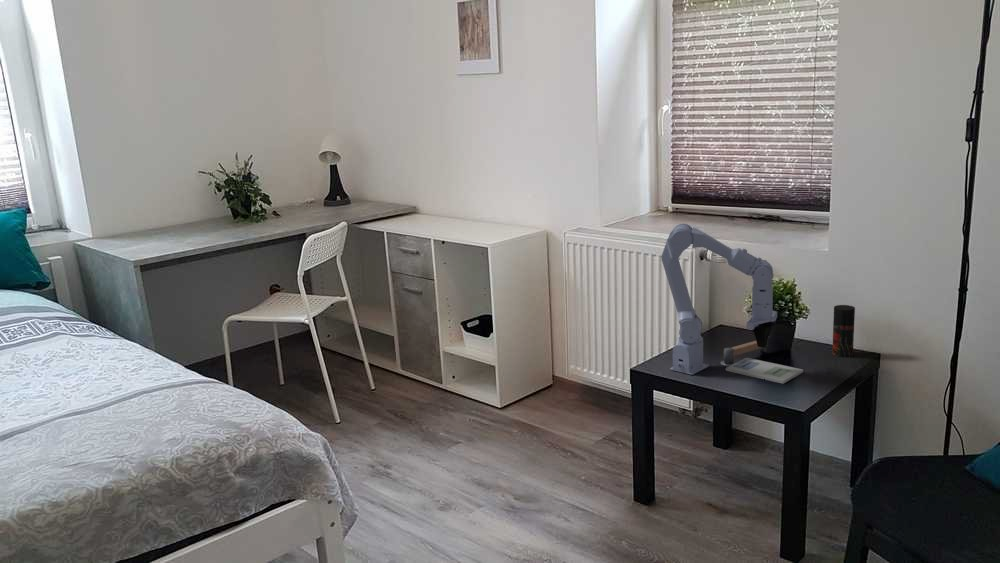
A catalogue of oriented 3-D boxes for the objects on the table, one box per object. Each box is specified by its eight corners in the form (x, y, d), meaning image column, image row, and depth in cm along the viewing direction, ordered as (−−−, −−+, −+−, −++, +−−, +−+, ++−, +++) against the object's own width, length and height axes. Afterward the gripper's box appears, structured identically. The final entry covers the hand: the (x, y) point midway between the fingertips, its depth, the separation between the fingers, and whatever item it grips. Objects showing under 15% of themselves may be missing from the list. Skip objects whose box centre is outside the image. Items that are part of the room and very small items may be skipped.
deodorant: (854, 357, 251) (856, 310, 247) (834, 356, 252) (835, 310, 249) (850, 350, 257) (852, 304, 253) (830, 350, 258) (832, 304, 254)
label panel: (783, 383, 233) (783, 380, 233) (711, 367, 250) (711, 364, 250) (803, 372, 241) (803, 369, 241) (731, 356, 258) (731, 353, 258)
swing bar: (728, 364, 250) (728, 351, 249) (721, 361, 252) (721, 349, 252) (779, 349, 260) (779, 337, 259) (771, 347, 263) (772, 335, 262)
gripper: (762, 310, 232) (762, 355, 235) (787, 298, 241) (786, 342, 245) (740, 306, 237) (740, 351, 240) (764, 295, 246) (764, 338, 250)
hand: (762, 346), depth 243 cm, fingers closed
